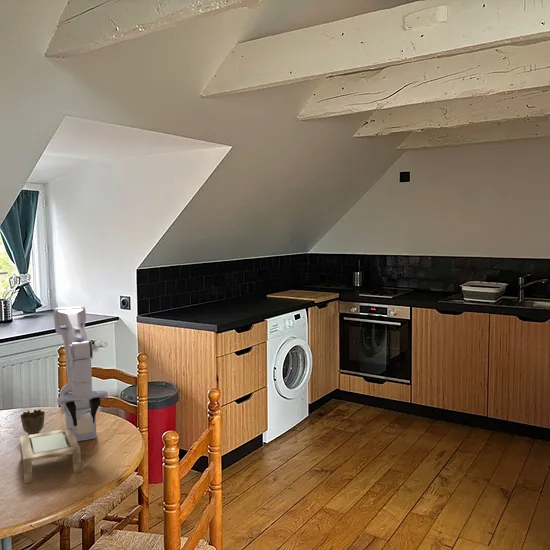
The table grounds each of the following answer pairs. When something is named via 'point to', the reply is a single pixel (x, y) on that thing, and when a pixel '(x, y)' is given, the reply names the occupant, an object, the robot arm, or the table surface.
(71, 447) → the stand
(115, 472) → the table surface
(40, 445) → the flap
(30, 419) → the cup
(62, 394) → the robot arm
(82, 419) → the beige cube
